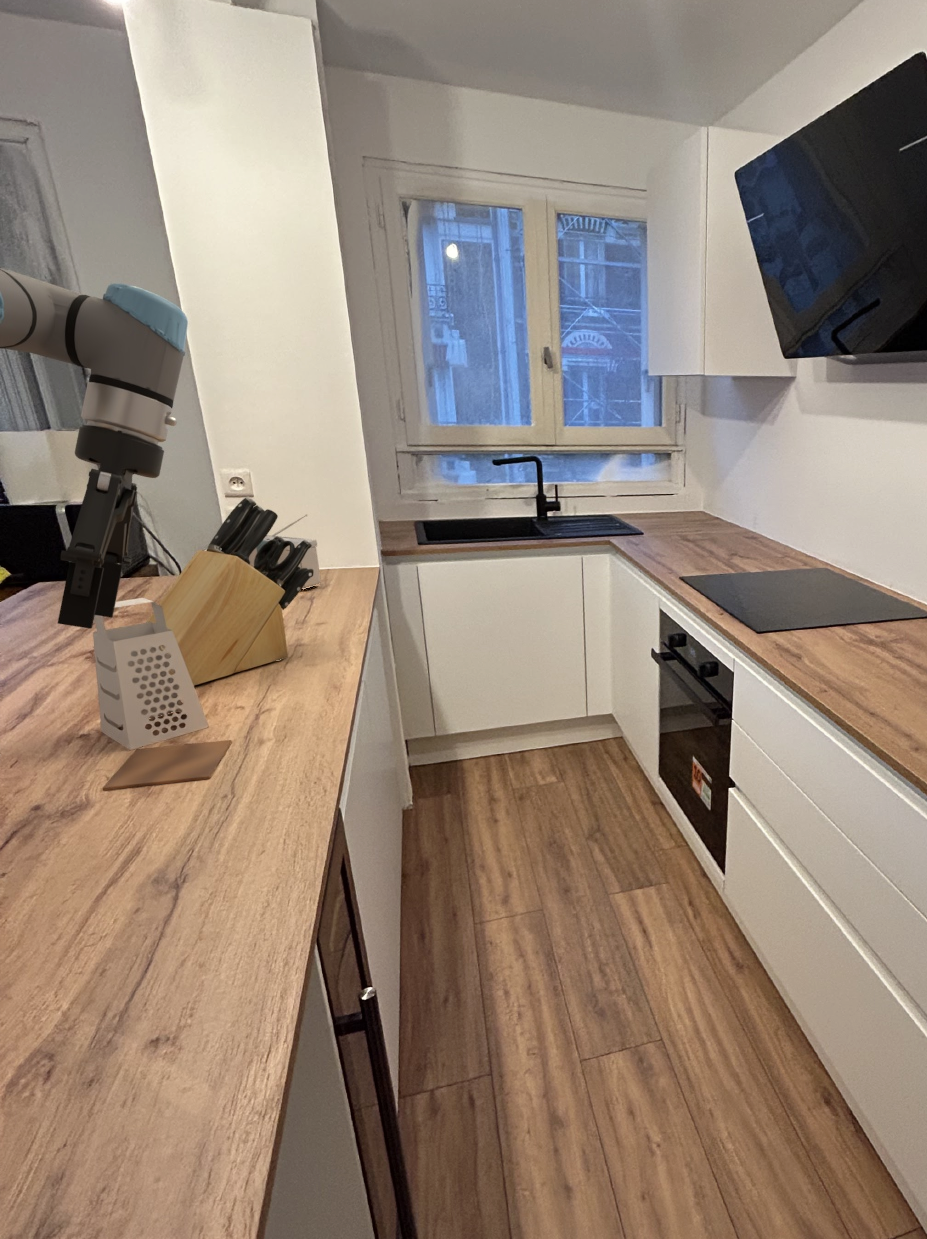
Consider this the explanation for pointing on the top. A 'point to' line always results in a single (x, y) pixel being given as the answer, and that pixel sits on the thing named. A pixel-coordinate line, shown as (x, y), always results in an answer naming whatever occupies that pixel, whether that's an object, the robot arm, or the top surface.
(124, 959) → the top surface
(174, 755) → the cork trivet
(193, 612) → the knife block
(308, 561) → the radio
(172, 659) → the grater
